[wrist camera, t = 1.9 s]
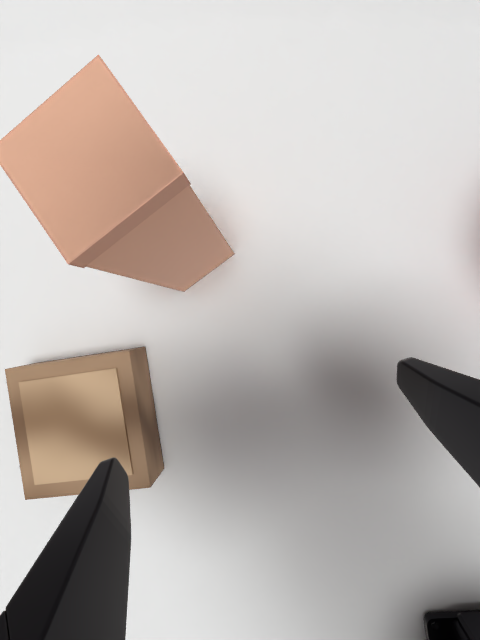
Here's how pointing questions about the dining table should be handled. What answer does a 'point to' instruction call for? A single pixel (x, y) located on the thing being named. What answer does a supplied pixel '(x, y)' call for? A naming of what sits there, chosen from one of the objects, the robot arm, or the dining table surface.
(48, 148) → the terracotta block
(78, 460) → the base block
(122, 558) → the robot arm
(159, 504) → the dining table surface
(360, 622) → the dining table surface
